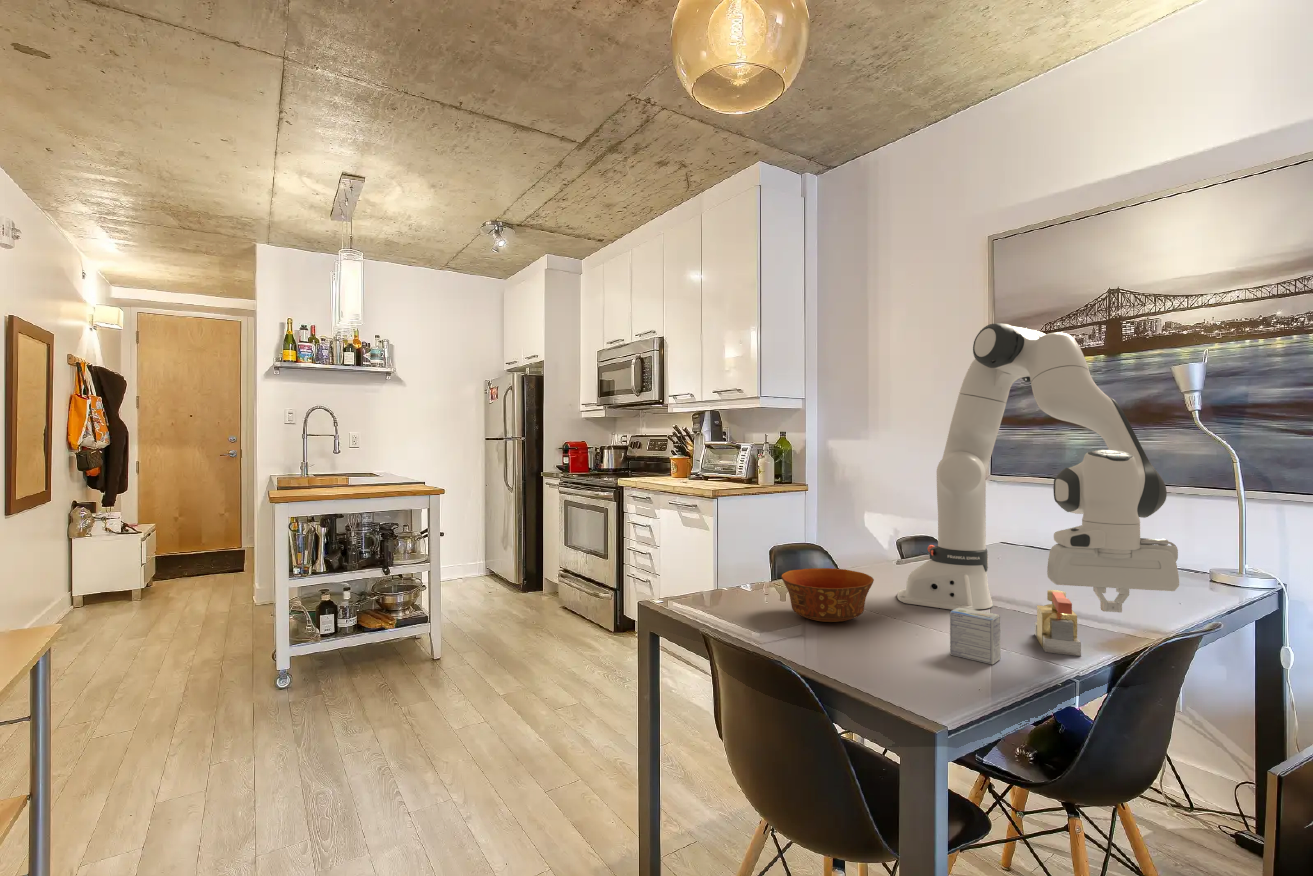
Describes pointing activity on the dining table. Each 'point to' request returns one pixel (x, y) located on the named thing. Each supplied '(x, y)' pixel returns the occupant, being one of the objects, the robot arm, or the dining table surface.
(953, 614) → the medicine box
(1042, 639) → the valve
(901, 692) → the dining table surface
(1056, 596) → the lever
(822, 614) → the bowl
